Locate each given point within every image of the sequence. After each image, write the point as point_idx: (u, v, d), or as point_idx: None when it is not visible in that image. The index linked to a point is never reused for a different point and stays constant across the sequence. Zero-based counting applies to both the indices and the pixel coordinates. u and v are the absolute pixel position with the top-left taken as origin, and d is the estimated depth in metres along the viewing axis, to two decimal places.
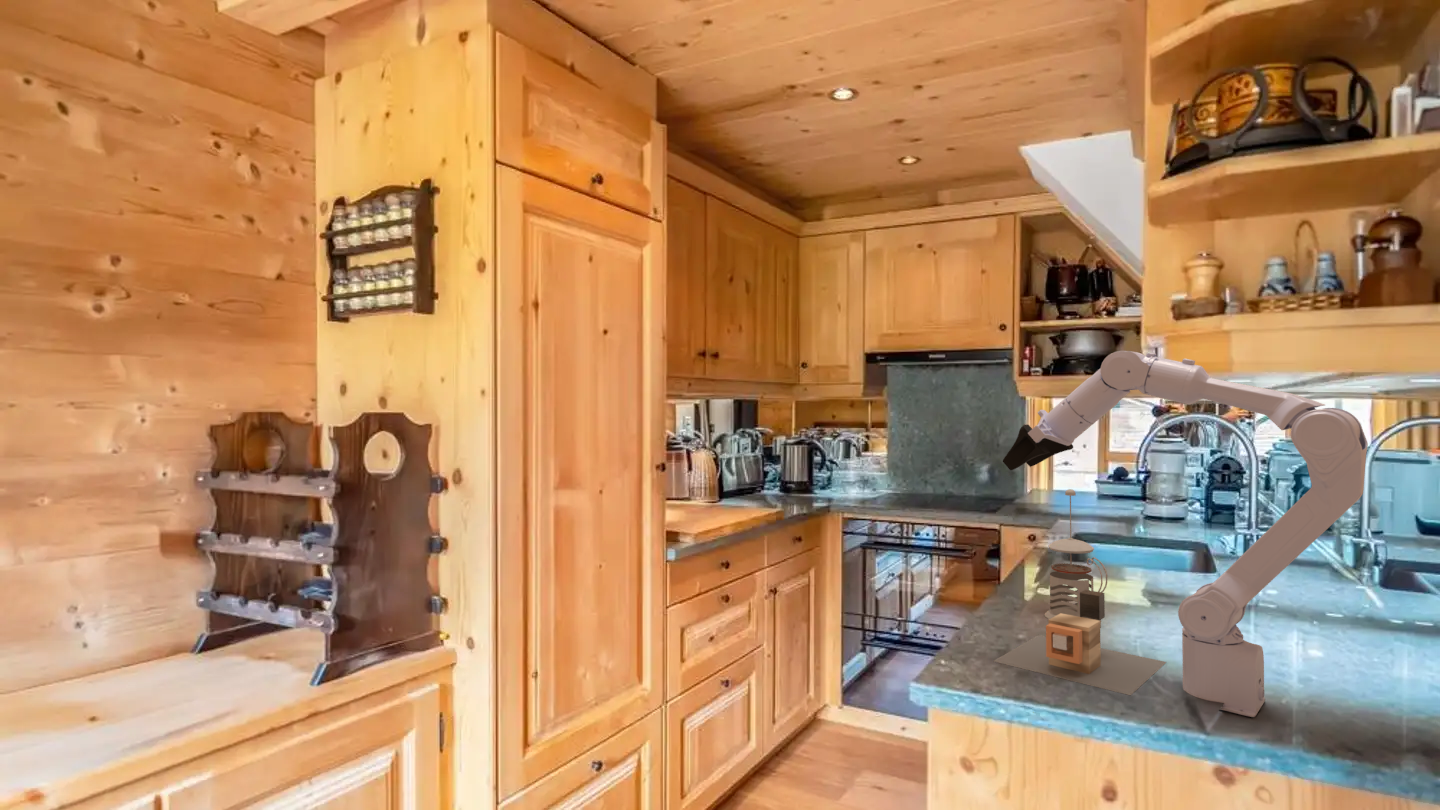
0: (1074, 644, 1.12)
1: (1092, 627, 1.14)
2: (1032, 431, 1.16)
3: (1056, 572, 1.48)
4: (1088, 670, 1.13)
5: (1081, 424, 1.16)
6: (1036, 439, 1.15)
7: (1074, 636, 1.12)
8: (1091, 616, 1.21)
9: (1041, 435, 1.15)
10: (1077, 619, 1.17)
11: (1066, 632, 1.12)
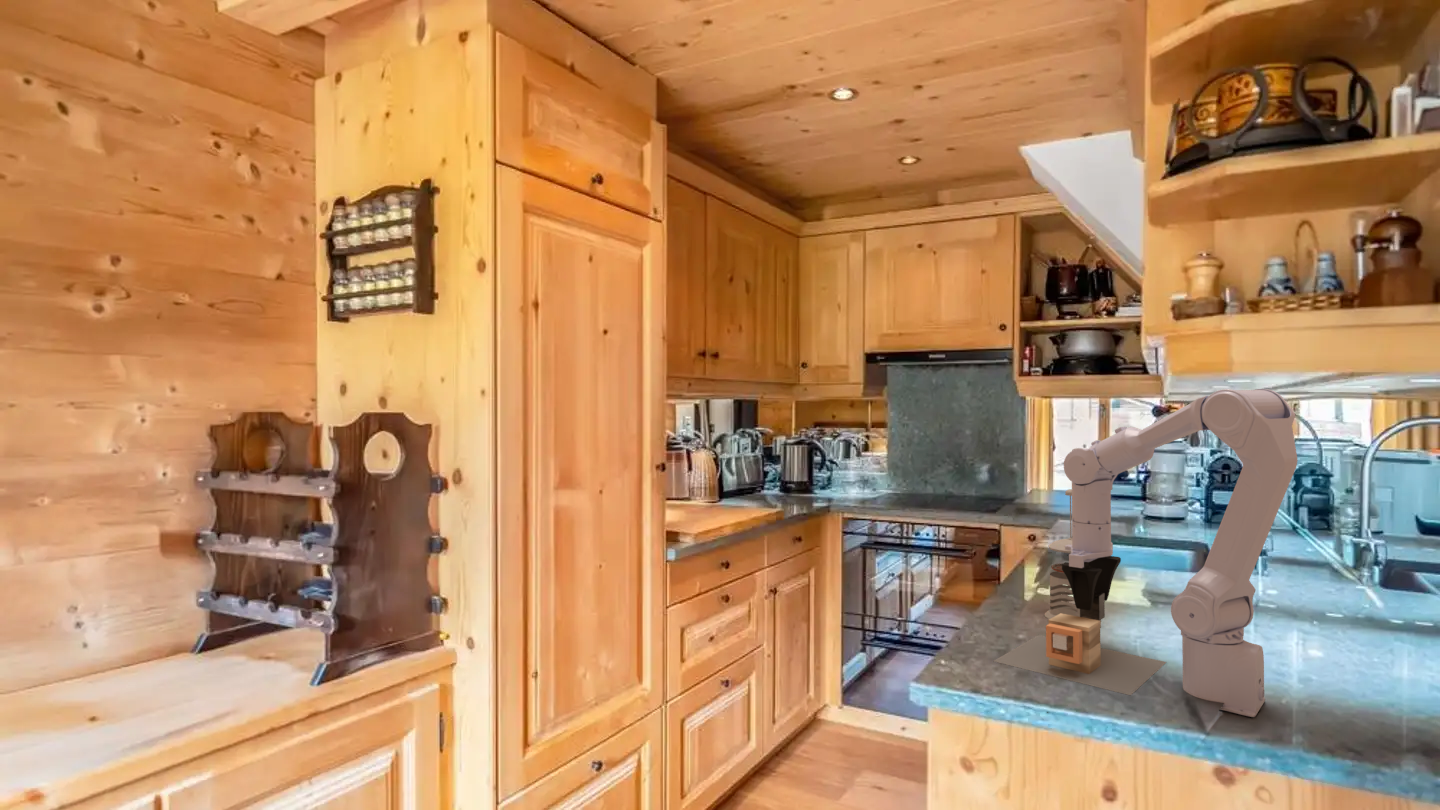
0: (1074, 644, 1.12)
1: (1092, 627, 1.14)
2: (1070, 561, 1.17)
3: (1056, 572, 1.48)
4: (1088, 670, 1.13)
5: (1101, 529, 1.19)
6: (1079, 565, 1.17)
7: (1074, 636, 1.12)
8: (1091, 616, 1.21)
9: (1080, 558, 1.16)
10: (1077, 619, 1.17)
11: (1066, 632, 1.12)
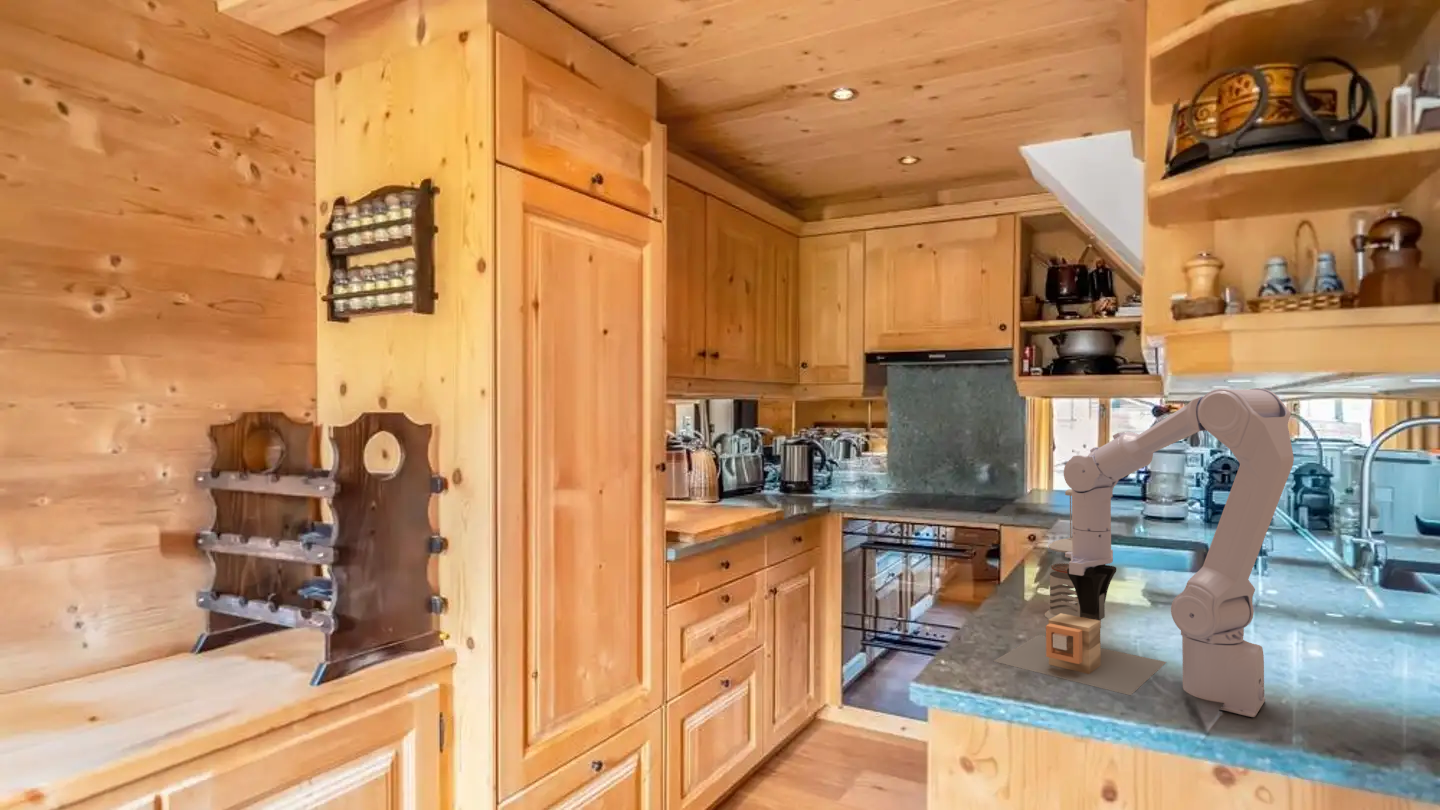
0: (1074, 644, 1.12)
1: (1092, 627, 1.14)
2: (1071, 569, 1.17)
3: (1056, 572, 1.48)
4: (1088, 670, 1.13)
5: (1101, 537, 1.19)
6: (1079, 572, 1.17)
7: (1074, 636, 1.12)
8: (1091, 616, 1.21)
9: (1080, 566, 1.16)
10: (1077, 619, 1.17)
11: (1066, 632, 1.12)
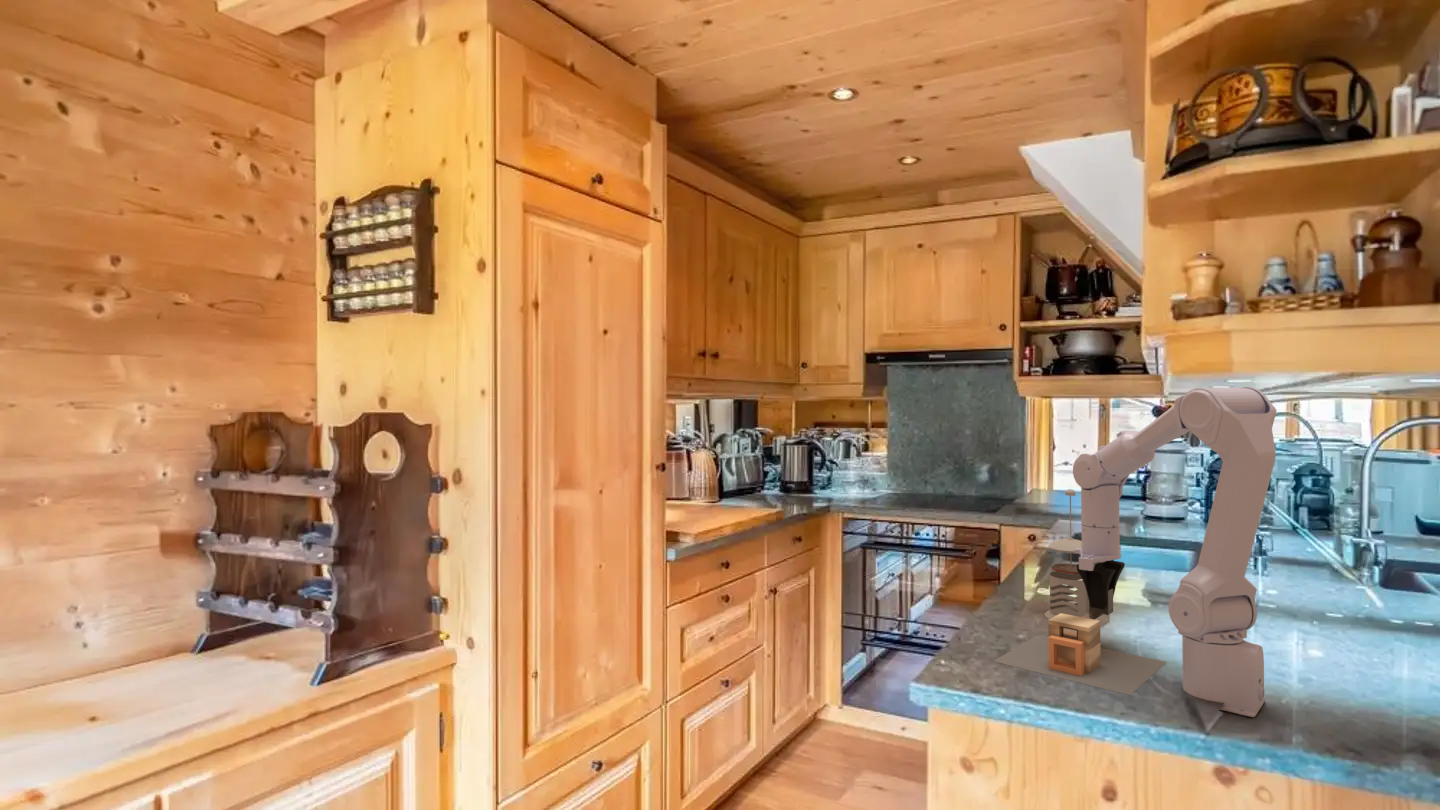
0: (1076, 656, 1.12)
1: (1092, 627, 1.14)
2: (1080, 564, 1.20)
3: (1056, 572, 1.48)
4: (1088, 670, 1.13)
5: (1110, 533, 1.22)
6: (1089, 568, 1.20)
7: (1076, 648, 1.12)
8: (1100, 611, 1.24)
9: (1089, 561, 1.19)
10: (1077, 619, 1.17)
11: (1068, 644, 1.13)
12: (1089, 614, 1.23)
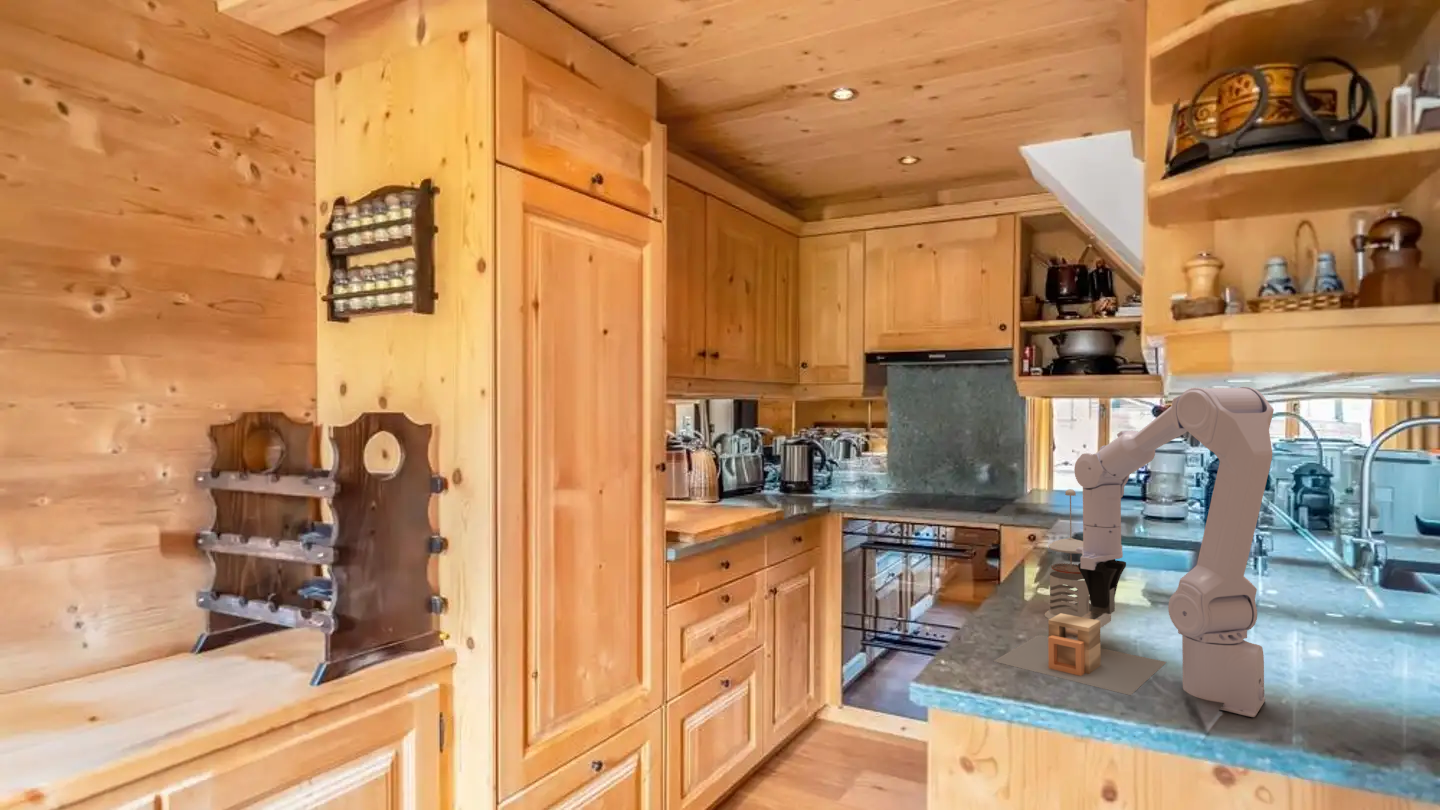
0: (1076, 656, 1.12)
1: (1092, 627, 1.14)
2: (1082, 563, 1.21)
3: (1056, 572, 1.48)
4: (1088, 670, 1.13)
5: (1112, 532, 1.23)
6: (1091, 567, 1.20)
7: (1076, 648, 1.12)
8: (1101, 610, 1.25)
9: (1091, 561, 1.20)
10: (1077, 619, 1.17)
11: (1068, 644, 1.13)
12: (1091, 613, 1.23)
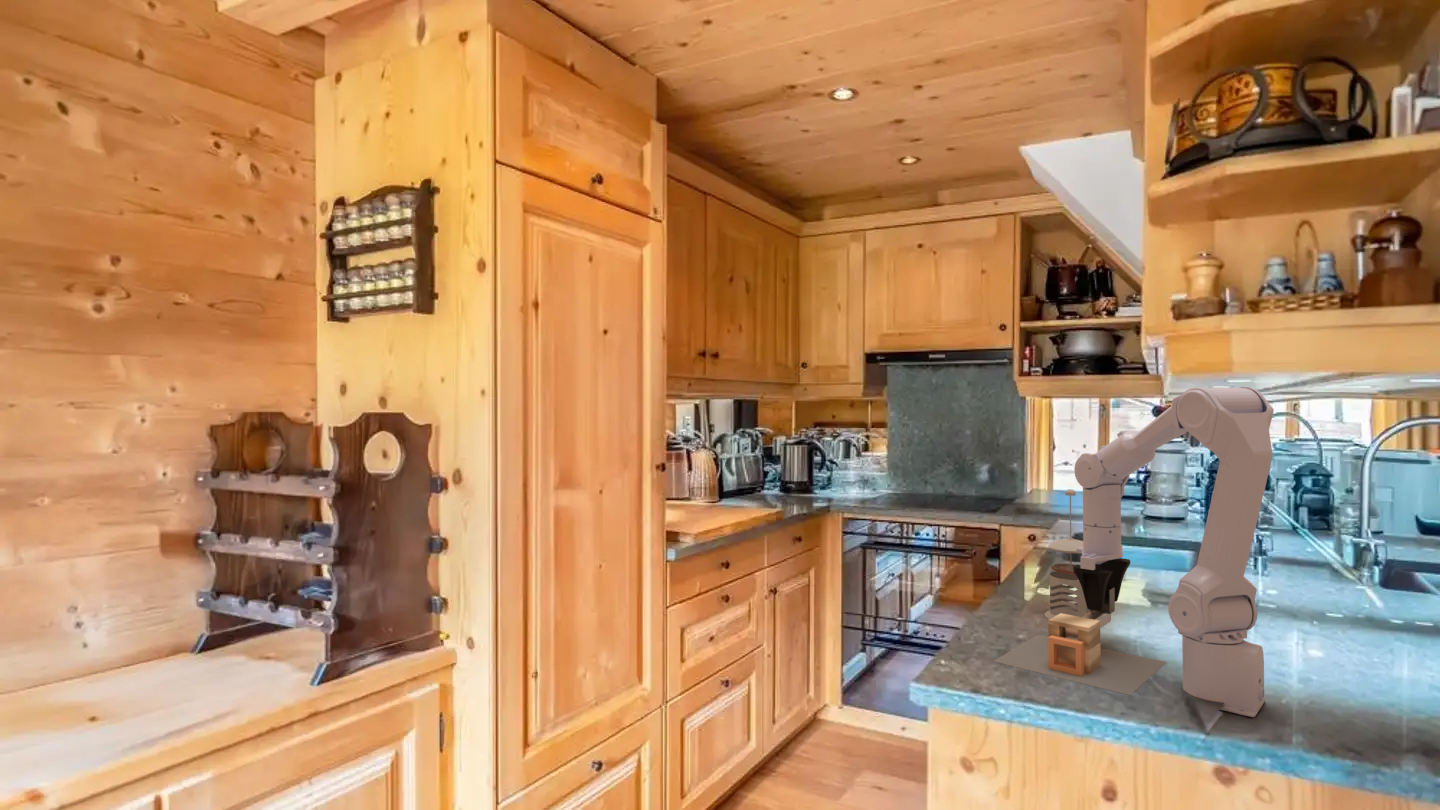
0: (1076, 656, 1.12)
1: (1092, 627, 1.14)
2: (1082, 563, 1.21)
3: (1056, 572, 1.48)
4: (1088, 670, 1.13)
5: (1112, 532, 1.23)
6: (1091, 567, 1.20)
7: (1076, 648, 1.12)
8: (1102, 610, 1.25)
9: (1091, 560, 1.20)
10: (1077, 619, 1.17)
11: (1068, 644, 1.13)
12: (1091, 613, 1.23)
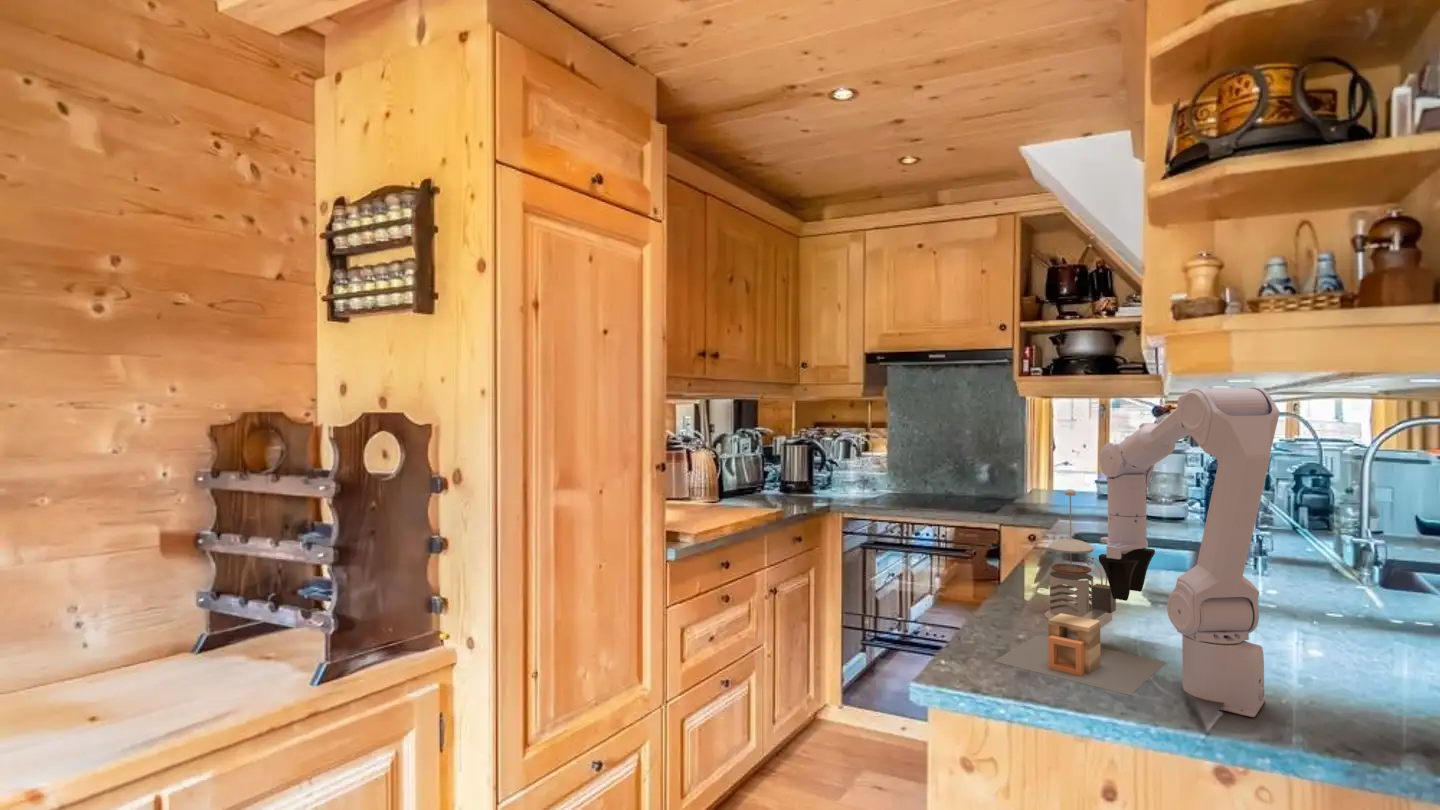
0: (1076, 656, 1.12)
1: (1092, 627, 1.14)
2: (1108, 553, 1.21)
3: (1056, 572, 1.48)
4: (1088, 670, 1.13)
5: (1137, 522, 1.23)
6: (1117, 556, 1.20)
7: (1076, 648, 1.12)
8: (1103, 609, 1.25)
9: (1117, 550, 1.20)
10: (1077, 619, 1.17)
11: (1068, 644, 1.13)
12: (1092, 612, 1.24)
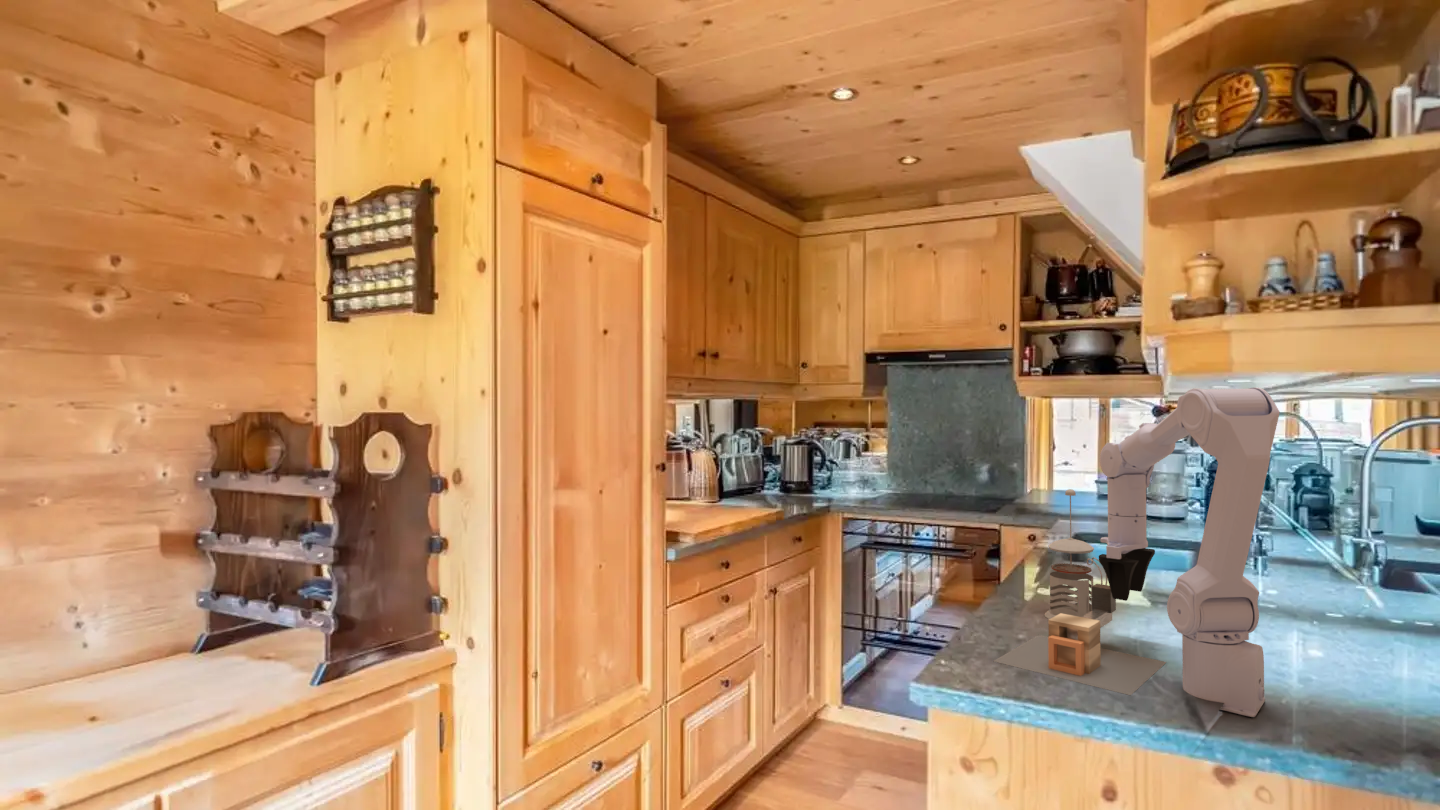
0: (1076, 656, 1.12)
1: (1092, 627, 1.14)
2: (1108, 553, 1.21)
3: (1056, 572, 1.48)
4: (1088, 670, 1.13)
5: (1137, 522, 1.23)
6: (1117, 556, 1.20)
7: (1076, 648, 1.12)
8: (1103, 609, 1.25)
9: (1117, 550, 1.20)
10: (1077, 619, 1.17)
11: (1068, 644, 1.13)
12: (1092, 612, 1.24)
